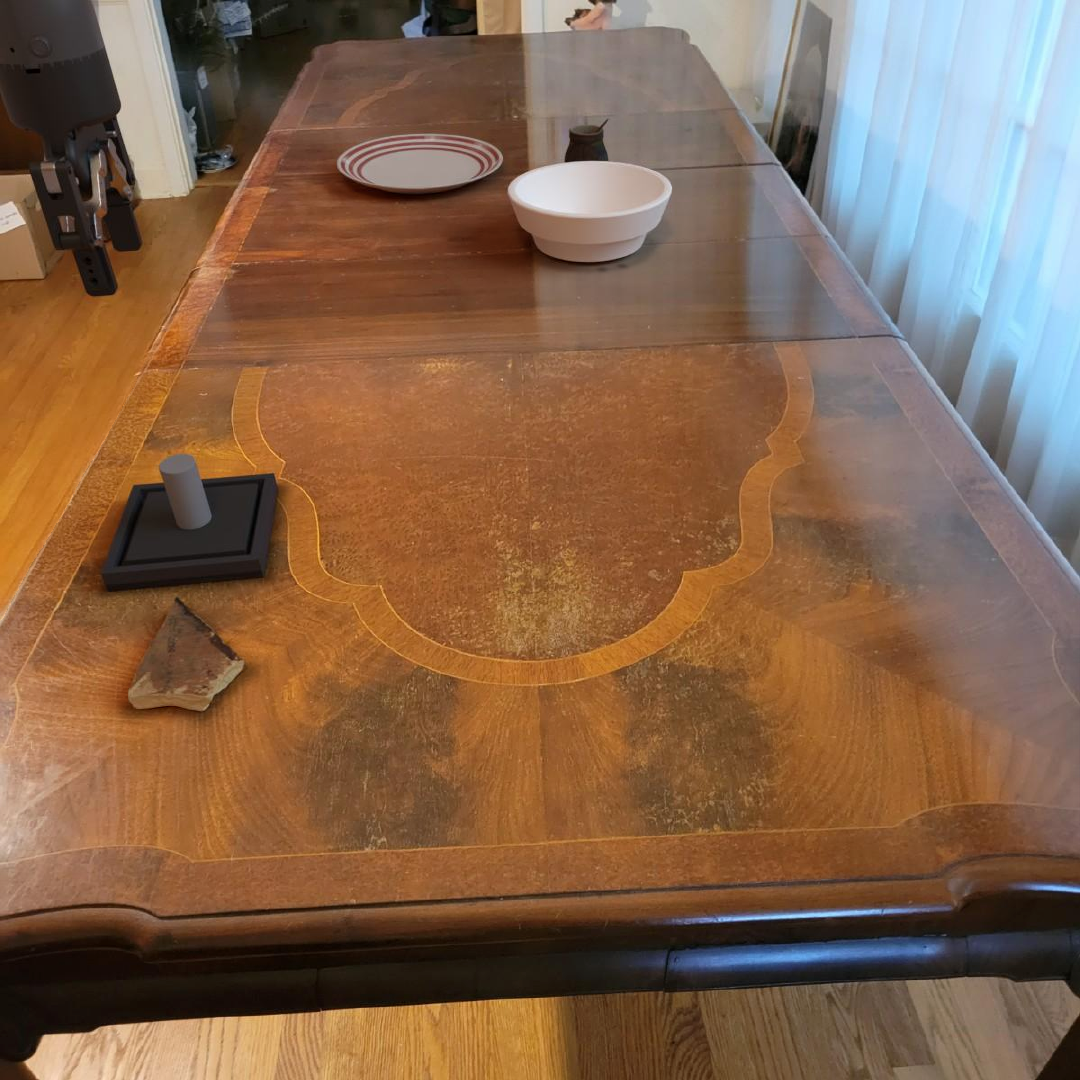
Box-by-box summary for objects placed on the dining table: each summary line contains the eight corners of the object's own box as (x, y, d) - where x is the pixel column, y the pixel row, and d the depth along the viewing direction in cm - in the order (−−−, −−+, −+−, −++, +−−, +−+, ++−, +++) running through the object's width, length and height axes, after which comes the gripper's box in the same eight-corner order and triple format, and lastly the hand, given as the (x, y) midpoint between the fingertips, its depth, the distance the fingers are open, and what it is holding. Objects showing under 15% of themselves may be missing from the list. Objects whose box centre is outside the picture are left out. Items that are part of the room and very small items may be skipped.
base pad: (107, 591, 82) (100, 573, 81) (139, 501, 93) (133, 484, 91) (263, 577, 83) (259, 559, 82) (278, 489, 94) (274, 472, 92)
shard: (180, 610, 80) (175, 593, 79) (271, 612, 80) (267, 596, 79) (127, 709, 72) (120, 692, 71) (228, 713, 71) (223, 696, 70)
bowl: (696, 262, 133) (701, 201, 128) (540, 289, 128) (538, 226, 123) (630, 208, 150) (632, 152, 145) (490, 230, 145) (486, 172, 139)
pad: (128, 571, 83) (102, 502, 79) (151, 502, 91) (129, 437, 87) (247, 560, 84) (228, 492, 80) (260, 493, 92) (244, 427, 87)
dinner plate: (527, 159, 170) (527, 139, 168) (461, 213, 151) (460, 191, 149) (388, 145, 179) (386, 126, 177) (308, 195, 159) (304, 174, 157)
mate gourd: (573, 170, 165) (572, 107, 159) (615, 175, 163) (617, 111, 156) (557, 184, 160) (556, 120, 154) (601, 189, 157) (602, 123, 151)
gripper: (22, 27, 72) (91, 240, 83) (-50, 75, 61) (41, 314, 71) (125, 21, 73) (182, 234, 83) (73, 68, 62) (146, 307, 72)
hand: (117, 271), depth 77 cm, fingers open, 8 cm apart
